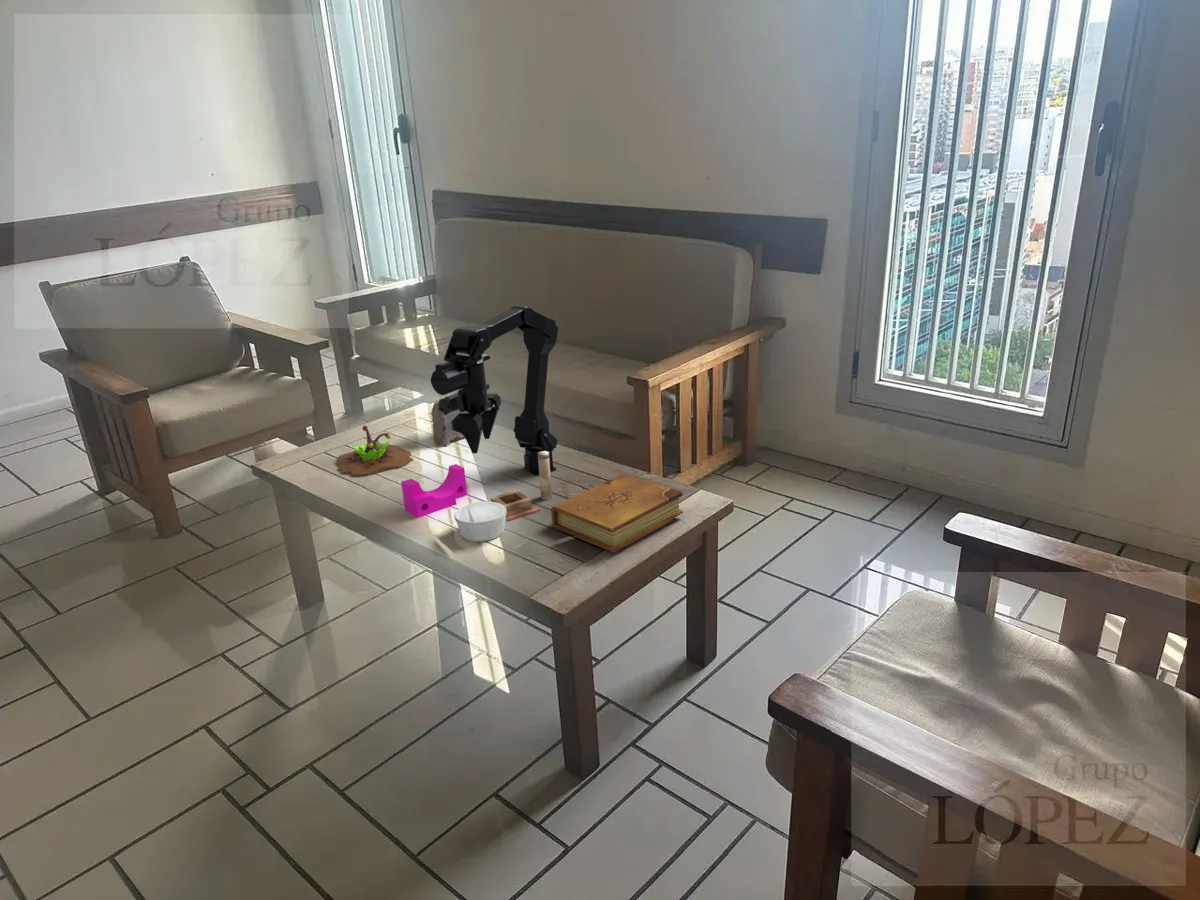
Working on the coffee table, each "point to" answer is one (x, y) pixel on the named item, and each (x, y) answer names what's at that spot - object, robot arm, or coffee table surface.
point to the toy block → (434, 493)
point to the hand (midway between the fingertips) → (481, 445)
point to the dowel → (544, 475)
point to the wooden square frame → (515, 504)
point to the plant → (373, 457)
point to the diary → (617, 511)
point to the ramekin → (481, 521)
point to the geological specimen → (444, 425)
